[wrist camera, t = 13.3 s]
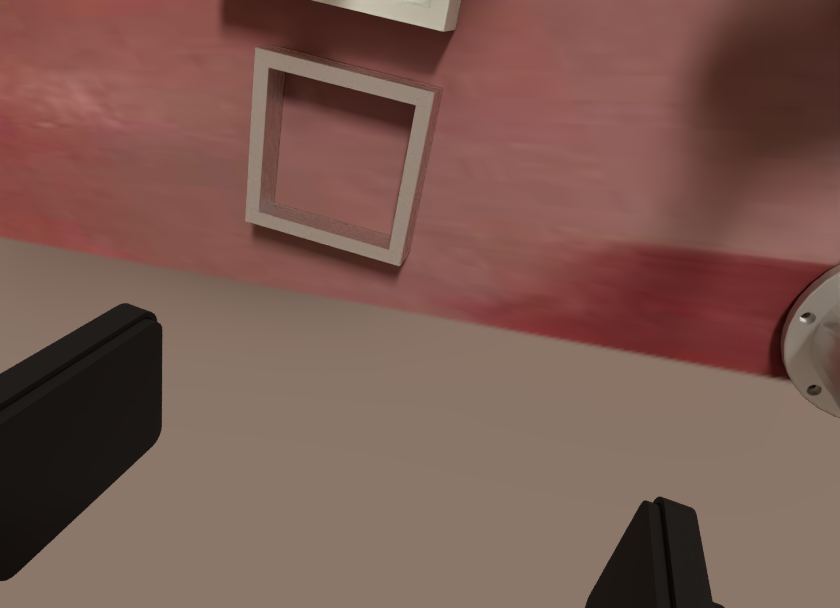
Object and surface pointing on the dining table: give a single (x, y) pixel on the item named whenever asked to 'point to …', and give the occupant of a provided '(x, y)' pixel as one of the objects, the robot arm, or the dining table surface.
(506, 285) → the dining table surface
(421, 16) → the tray
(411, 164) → the collar
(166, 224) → the dining table surface
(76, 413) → the robot arm
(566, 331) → the dining table surface
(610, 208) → the dining table surface
